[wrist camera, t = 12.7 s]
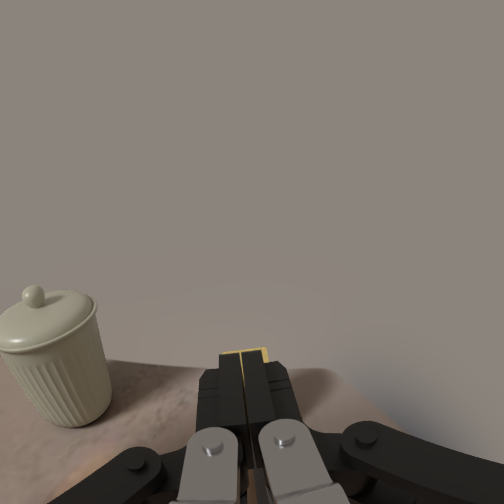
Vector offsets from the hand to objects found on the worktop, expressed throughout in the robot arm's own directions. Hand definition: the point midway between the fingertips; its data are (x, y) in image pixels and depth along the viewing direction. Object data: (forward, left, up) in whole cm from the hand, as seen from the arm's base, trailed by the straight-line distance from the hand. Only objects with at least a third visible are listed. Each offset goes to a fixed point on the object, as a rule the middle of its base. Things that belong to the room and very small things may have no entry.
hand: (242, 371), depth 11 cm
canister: (-28, +25, -25) cm, 45 cm away
